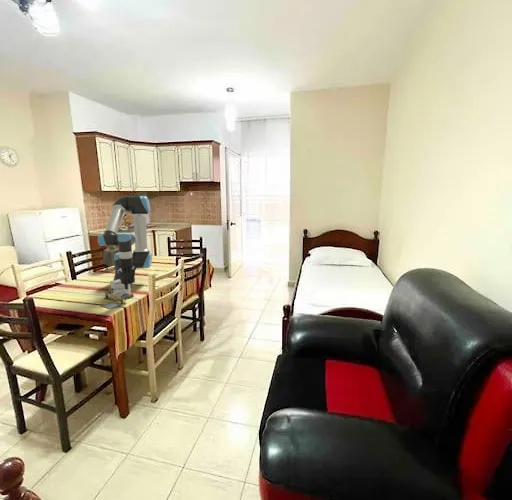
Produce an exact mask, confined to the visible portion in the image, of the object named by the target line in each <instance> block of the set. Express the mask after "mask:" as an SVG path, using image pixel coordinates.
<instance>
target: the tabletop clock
mask: <svg viewBox="0 0 512 500" xmlns="http://www.w3.org/2000/svg"><path fill="white" fill-rule="evenodd" d="M116 253H119V247H116V246H109V248H106V249H103V251H102V259H103V264H104V265H106V266H107V267H106V270H108V269H109V267H110V266H111V267H115V266H114V255H115V254H116Z"/></svg>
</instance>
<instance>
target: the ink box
mask: <svg viewBox="0 0 512 500" xmlns="http://www.w3.org/2000/svg"><path fill="white" fill-rule="evenodd" d="M113 280H114V279H113ZM113 280H110V282H109V283H110V289H111V294H112V295H115V296H118V297H120V298H121V296H124V297H125V296H127V294H126V289H125V285H124V284H122V283H121V280H120V279H118V280H114V281H113Z"/></svg>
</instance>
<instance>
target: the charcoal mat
mask: <svg viewBox="0 0 512 500" xmlns="http://www.w3.org/2000/svg"><path fill="white" fill-rule="evenodd" d="M122 305H123V303H120V302H117V301H110V302H108V303H105V304H102V305H100V307H102V308H106V309H109V310H111V309H114V308H117V307H120V306H122Z"/></svg>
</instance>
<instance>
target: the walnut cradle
mask: <svg viewBox="0 0 512 500" xmlns="http://www.w3.org/2000/svg"><path fill="white" fill-rule="evenodd" d="M108 291H109V292H110V294H111V288H109V289H108ZM134 296H135V295H134V293H131V294H127V296H125V297H124V299H125V300H128V299H131V298H134ZM103 299H104V300H111V299H110V298H105V296H104V297H103Z"/></svg>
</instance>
